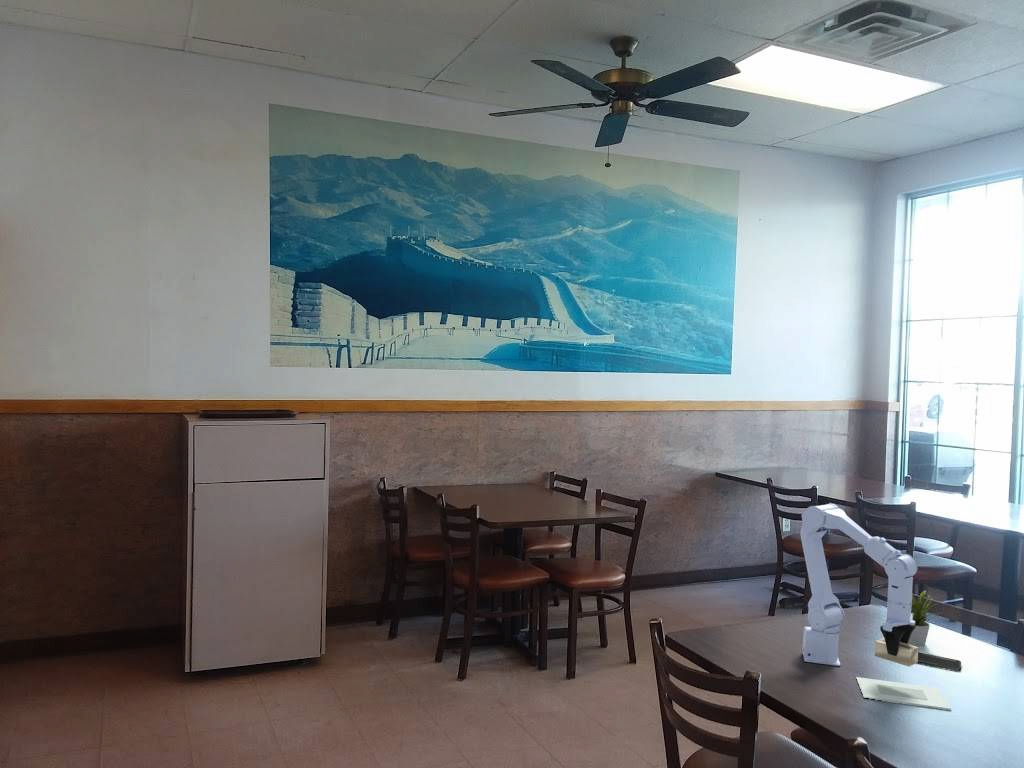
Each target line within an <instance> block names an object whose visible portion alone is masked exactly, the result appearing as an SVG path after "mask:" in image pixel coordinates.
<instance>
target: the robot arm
mask: <svg viewBox="0 0 1024 768" xmlns="http://www.w3.org/2000/svg"><path fill="white" fill-rule="evenodd" d="M801 520H802V524H801V529H800V532H799V533H800V540H801V545H802V550H803V555H804V560H805V565H806V570H807V576H808V582H809V585H810V591H811V597H810V599H809V601H808V603H807V607H808V608H807V609H808V611H807V612H808V613H807V616H806V617H807V621H808V623H809V625H810V626H804V627H803V637H802V646H801V647H802V648H801V652H802V655H803V661H804V662H805V663H806V662H807V663H813V664H822V665H828V666H829V665H830V666H834V667H835V666H836V667H841V662H840V659H839V655H838V654H839V640H840V639H839V638H840V629H841V628H840V627H841V625H842V624H843V623H844V622H845V619H846V615H845V611H844V609H843V608H842V606H841V604H840V601H839V600H840V599H839V598H838V597H837V596H836V595H834V593H833V591H832V586H831V580H830V575H829V572H828V571H829V570H828V565H827V561H826V555H825V551H824V550H825V549H824V545H823V540H822V538H823V536H825V534H826V533H827V532H828V531H829V530H840V532H842V533H844V534H845V535H846V536H848V537H850V539H852V540H854V541H855V542H857V543H858V544H859V545H861V546H862V547H863V551H864V553H865V554H866V555H867V556H869V557H870V558H871V559H872V560H874V561H875V562H877V563H878V564H879V565H880V566H881V567H883V568H884V571H885V573H886V575H887V577H888V578H887V579H888V580H887V581H888V583H887V584H888V586H887V604H886V607H887V608H886V614H885V619H884V620H885V621H883V622H882V625H880V627H879V628H880V629H879V630H880V632H881V634H882V636H883V637H884V639H885V643H886V648H887V652H888V654H890V655H893V656H897V654H898V649H899V644H900V642H902V643H906V644H909V643H908V641H909V638H910V636H911V634H912V632H913V630H914V629H915V627H916V625H915V621H913V613H911V609H912V608H911V603H912V596H913V583H914V580H913V579H914V577H913V576H915V575H916V574H917V571H918V568H919V567H918V563H917V561H916V559H915V558H914V557H912V555H910V554H907V553H905V554H903V553H902V551H901V550H900V549H896V548H894V547H893V546H892V545H891V544H889V543H888V542H887V539H886V538H885V537H880V536H872V535H870V534H869V533H868V532H867V531H866V530H865V529H864V528H863V527H861V526H860V525H859V524H857V523H856V522H855V521H854V520H853V519H852V518H850V517H849V516H848V515H847V514H846V512H845V511H844V510H843V509H841V508H839V507H838V506H837V505H836V504H834V503H827V504H821V505H810V506H808V507H807V508H806V509H805V510H804V511H803V513H801Z"/></svg>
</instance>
